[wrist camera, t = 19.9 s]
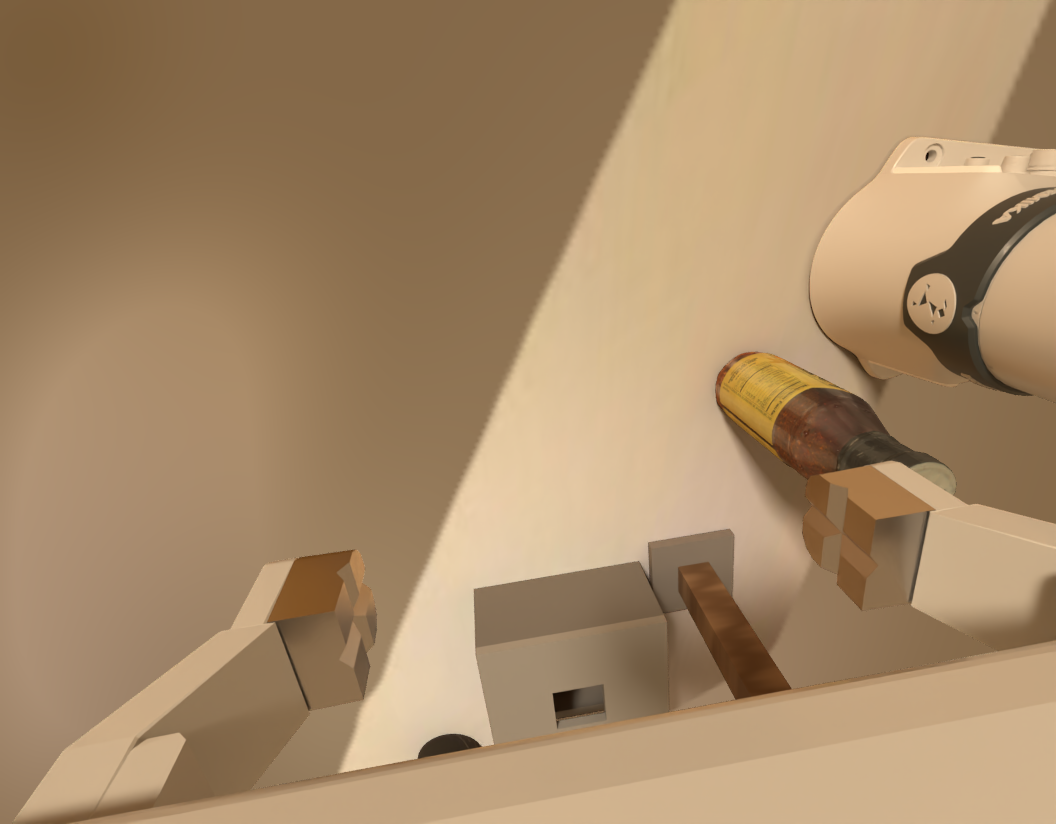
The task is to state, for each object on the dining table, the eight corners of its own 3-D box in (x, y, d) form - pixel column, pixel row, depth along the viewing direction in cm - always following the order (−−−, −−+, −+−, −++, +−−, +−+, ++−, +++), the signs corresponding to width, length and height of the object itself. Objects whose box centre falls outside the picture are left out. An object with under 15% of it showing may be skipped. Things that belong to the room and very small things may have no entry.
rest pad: (729, 528, 53) (734, 535, 52) (727, 594, 56) (731, 601, 55) (648, 542, 52) (651, 548, 52) (650, 607, 56) (653, 615, 55)
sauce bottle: (787, 399, 48) (985, 529, 30) (720, 426, 49) (875, 572, 30) (772, 331, 46) (978, 429, 27) (701, 361, 46) (858, 477, 28)
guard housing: (638, 561, 53) (667, 621, 46) (644, 681, 59) (670, 751, 52) (473, 589, 52) (475, 655, 45) (497, 708, 59) (502, 783, 51)
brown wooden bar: (708, 561, 53) (803, 707, 38) (708, 586, 54) (800, 736, 39) (678, 566, 53) (761, 714, 38) (678, 591, 54) (759, 744, 39)
